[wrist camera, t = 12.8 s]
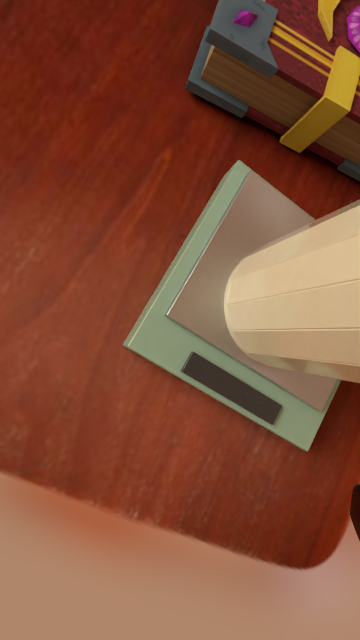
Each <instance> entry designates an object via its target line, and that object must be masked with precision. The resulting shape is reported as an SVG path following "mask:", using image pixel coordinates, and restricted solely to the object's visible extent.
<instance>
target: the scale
mask: <svg viewBox="0 0 360 640" xmlns="http://www.w3.org/2000/svg"><path fill="white" fill-rule="evenodd" d="M314 221H316V220H315V219H314V218H313V217H311V216H310V215H309V214H307V213H306V212H305V211H304V210H302V209H301V208H300V207H299V206H297V205H296V204H295V203H293V202H292V201H291V200H290V199H288V198H287V197H286V196H284V195H283V194H282V193H281V192H279V191H278V190H277V189H276V188H274V187H273V186H272V185H270V184H269V183H268V182H267V181H265V180H264V179H263V178H262V177H260V176H259V175H258V174H256V173H255V172H254V171H253V170H251V169H250V168H249V167H248V166H246V165H245V164H244V163H242V162H241V161H240V160H238V161H237V162H236V163H235V164H234V165H233V166H232V168H231V169H230V170H229V171H228V172H227V173H226V174H225V175H224V177H223V178H222V180H221V181H220V183H219V185H218V186H217V188H216V190H215V191H214V193H213V195H212V196H211V198H210V200H209V201H208V203H207V205H206V206H205V208H204V210H203V211H202V213H201V215H200V216H199V218H198V220H197V221H196V223H195V225H194V226H193V228H192V230H191V231H190V233H189V235H188V236H187V238H186V240H185V241H184V243H183V245H182V246H181V248H180V250H179V251H178V253H177V255H176V256H175V258H174V260H173V261H172V263H171V265H170V266H169V268H168V270H167V271H166V273H165V275H164V276H163V278H162V280H161V281H160V283H159V285H158V286H157V288H156V290H155V291H154V293H153V295H152V296H151V298H150V300H149V301H148V303H147V305H146V306H145V308H144V310H143V311H142V313H141V315H140V316H139V318H138V320H137V321H136V323H135V325H134V326H133V328H132V330H131V331H130V333H129V335H128V336H127V338H126V340H125V341H124V343H123V346H124V347H126V348H127V349H129V350H131V351H133V352H134V353H136V354H138V355H139V356H141V357H143V358H145V359H146V360H148V361H150V362H151V363H153V364H155V365H157V366H158V367H160V368H162V369H163V370H165V371H167V372H169V373H170V374H172V375H174V376H176V377H177V378H179V379H181V380H182V381H184V382H186V383H188V384H189V385H191V386H193V387H194V388H196V389H198V390H200V391H201V392H203V393H205V394H206V395H208V396H210V397H212V398H213V399H215V400H217V401H219V402H220V403H222V404H224V405H225V406H227V407H229V408H231V409H232V410H234V411H236V412H237V413H239V414H241V415H243V416H244V417H246V418H248V419H250V420H251V421H253V422H255V423H256V424H258V425H260V426H262V427H263V428H265V429H267V430H268V431H270V432H272V433H274V434H275V435H277V436H279V437H280V438H282V439H284V440H286V441H287V442H289V443H291V444H293V445H295V446H297V447H299V448H301V449H302V450H304V451H307V452H308V450H309V448H310V446H311V444H312V442H313V440H314V438H315V435H316V433H317V431H318V429H319V427H320V425H321V422H322V420H323V418H324V416H325V414H326V412H327V409H328V407H329V405H330V403H331V401H332V399H333V397H334V394H335V392H336V390H337V388H338V386H339V384H340V381H341V380H340V379H334V378H329V377H323V376H318V375H312V374H307V373H301V372H296V371H290V370H285V369H280V368H274V367H269V366H265V365H262V364H260V363H258V362H256V361H254V360H252V359H251V358H249V357H248V356H247V355H246V354H244V353H243V351H242V350H241V349H240V348H239V347H238V346H237V344H236V343H235V342H234V340H233V338H232V336H231V334H230V332H229V330H228V327H227V324H226V320H225V314H224V296H225V290H226V286H227V283H228V280H229V278H230V276H231V274H232V272H233V270H234V269H235V268H236V266H237V265H238V264H239V263H240V262H241V261H242V259H244V258H245V257H246V256H247V255H249V254H250V253H252V252H254V251H256V250H258V249H259V248H261V247H262V246H264V245H266V244H268V243H270V242H272V241H274V240H276V239H278V238H280V237H283V236H285V235H287V234H289V233H291V232H293V231H295V230H297V229H299V228H301V227H303V226H305V225H307V224H310V223H312V222H314Z"/></svg>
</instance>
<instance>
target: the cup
mask: <svg viewBox="0 0 360 640" xmlns="http://www.w3.org/2000/svg"><path fill="white" fill-rule="evenodd" d="M224 314H225V320H226V324H227V327H228V330H229V332H230V334H231V336H232V338H233V340H234V342H235V343H236V344H237V346H238V347H239V348H240V349H241V350H242V351H243V353H244V354H246V355H247V356H248V357H249V358H251V359H252V360H254V361H256V362H258V363H260V364H262V365H265V366H269V367H274V368H280V369H285V370H290V371H296V372H301V373H307V374H312V375H318V376H323V377H329V378H334V379H340V380H345V381H350V382H356V383H360V199H359V200H357V201H355V202H353V203H351V204H349V205H347V206H345V207H343V208H341V209H339V210H336V211H334V212H332V213H330V214H328V215H326V216H324V217H322V218H320V219H318V220H316V221H314V222H312V223H310V224H307V225H305V226H303V227H301V228H299V229H297V230H295V231H293V232H291V233H289V234H287V235H285V236H283V237H280V238H278V239H276V240H274V241H272V242H270V243H268V244H266V245H264V246H262V247H261V248H259V249H258V250H256V251H254V252H252V253H250V254H249V255H247V256H246V257H245V258H244V259H242V261H241V262H240V263H239V264H238V265H237V266H236V268H235V269H234V270H233V272H232V274H231V276H230V278H229V280H228V283H227V286H226V290H225V296H224Z"/></svg>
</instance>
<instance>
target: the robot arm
mask: <svg viewBox="0 0 360 640" xmlns="http://www.w3.org/2000/svg"><path fill="white" fill-rule="evenodd" d="M350 515H351V519H352V522H353V525H354V528H355V530H356V533H357V535H358V538H359V540H360V484H357V485H355V486H354V487H353V492H352V500H351V508H350Z"/></svg>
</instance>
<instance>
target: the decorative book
mask: <svg viewBox="0 0 360 640" xmlns="http://www.w3.org/2000/svg"><path fill="white" fill-rule="evenodd" d="M185 89H186V90H188V91H190V92H192V93H194V94H196V95H198V96H200V97H202V98H204V99H206V100H208V101H210V102H211V103H213V104H215V105H217V106H219V107H221V108H223V109H225V110H227V111H229V112H231V113H233V114H234V115H236V116H238V117H240V118H242V117H243V116H244V115H245V116H247V117H249V118H251V119H252V120H254V121H256V122H258V123H260V124H262V125H264V126H266V127H267V128H269V129H271V130H273V131H275V132H277V133H279V134H280V135H281V138H280V141H279V142H280V143H281V144H283V145H285V146H287V147H289V148H291V149H293V150H295V151H296V152H298V153H300V152H301V151H303V150H304V149H305V148H306V149H308V150H310V151H312V152H314V153H316V154H318V155H319V156H321V157H323V158H325V159H327V160H329V161H331V162H333V163H334V164H336V165H338V168H337V169H338V170H340V171H341V172H343V173H345V174H347V175H349V176H350V177H352V178H354V179H356V180H358V181H360V0H218V3H217V6H216V9H215V12H214V15H213V17H212V20H211V23H210V26H208V25H207V28H206V30H205V33H204V36H203V39H202V41H201V44H200V47H199V50H198V53H197V56H196V59H195V62H194V64H193V67H192V70H191V73H190V76H189V79H188V82H187V85H186V87H185Z"/></svg>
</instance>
